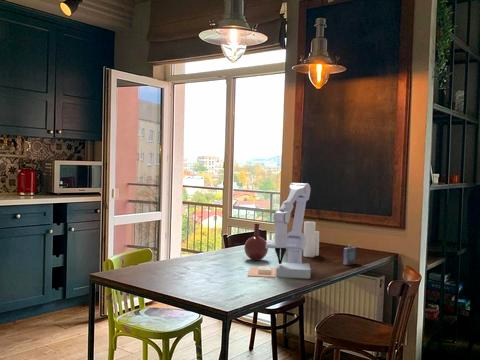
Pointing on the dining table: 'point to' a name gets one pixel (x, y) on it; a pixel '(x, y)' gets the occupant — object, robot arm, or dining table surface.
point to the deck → (293, 270)
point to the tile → (264, 270)
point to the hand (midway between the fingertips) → (280, 263)
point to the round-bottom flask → (256, 246)
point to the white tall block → (311, 240)
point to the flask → (349, 255)
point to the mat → (254, 273)
